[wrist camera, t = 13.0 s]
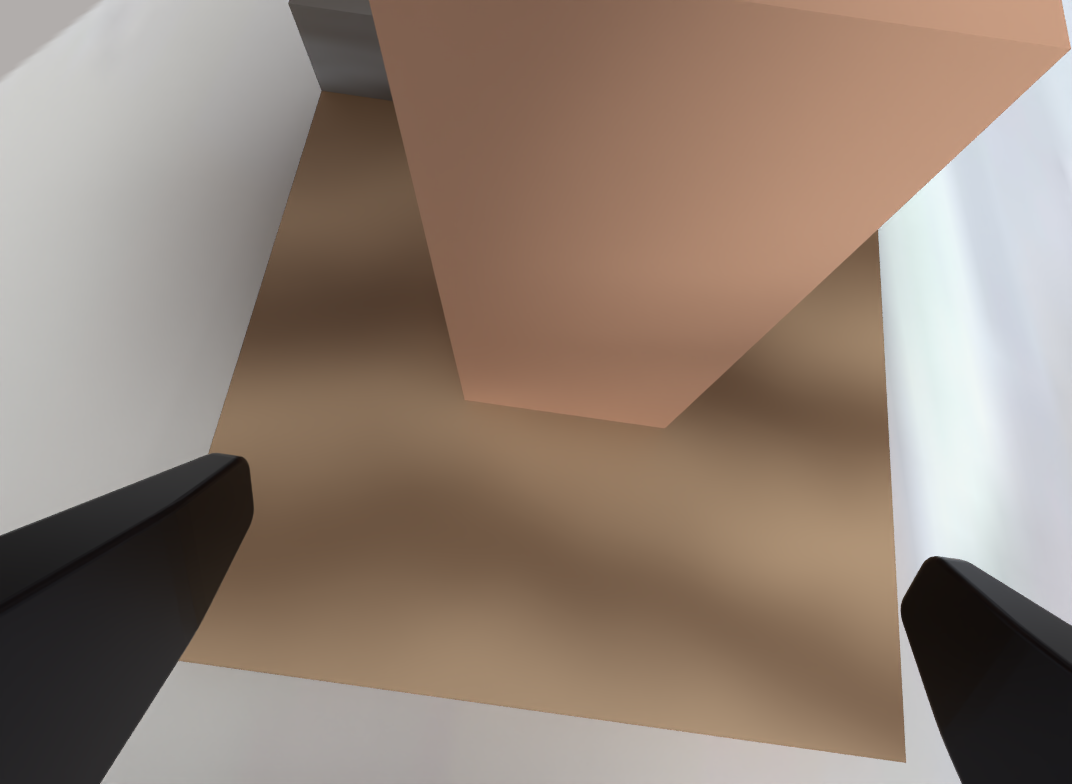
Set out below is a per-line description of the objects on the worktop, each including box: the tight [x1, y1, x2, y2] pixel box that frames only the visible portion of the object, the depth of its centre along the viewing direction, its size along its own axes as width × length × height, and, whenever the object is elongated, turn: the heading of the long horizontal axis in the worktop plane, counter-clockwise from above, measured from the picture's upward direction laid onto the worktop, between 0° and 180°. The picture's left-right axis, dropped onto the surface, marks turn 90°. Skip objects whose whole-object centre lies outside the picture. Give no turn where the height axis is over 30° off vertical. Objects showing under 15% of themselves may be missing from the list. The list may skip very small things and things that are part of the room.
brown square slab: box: [179, 0, 906, 763], centre depth 16 cm, size 18×18×4 cm
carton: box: [369, 0, 1071, 428], centre depth 11 cm, size 6×6×12 cm
